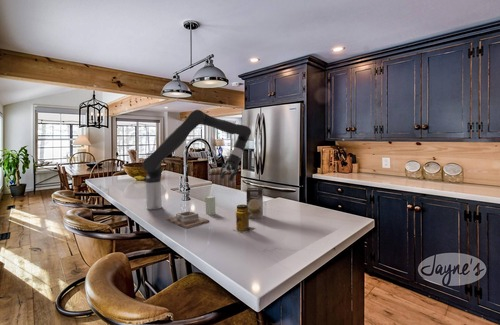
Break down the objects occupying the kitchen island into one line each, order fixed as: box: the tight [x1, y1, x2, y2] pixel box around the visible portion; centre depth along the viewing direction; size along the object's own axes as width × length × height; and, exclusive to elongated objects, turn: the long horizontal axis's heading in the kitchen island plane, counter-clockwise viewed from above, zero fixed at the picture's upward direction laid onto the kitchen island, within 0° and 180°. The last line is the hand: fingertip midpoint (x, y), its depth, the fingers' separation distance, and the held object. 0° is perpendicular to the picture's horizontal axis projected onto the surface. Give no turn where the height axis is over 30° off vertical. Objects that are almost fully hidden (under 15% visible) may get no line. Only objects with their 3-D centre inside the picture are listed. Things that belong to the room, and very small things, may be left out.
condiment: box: [233, 204, 255, 234], centre depth 127 cm, size 7×8×12 cm
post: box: [205, 195, 216, 216], centre depth 155 cm, size 4×4×10 cm
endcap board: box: [166, 210, 210, 229], centre depth 142 cm, size 20×14×4 cm
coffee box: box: [246, 187, 264, 219], centre depth 147 cm, size 9×6×16 cm
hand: (225, 179), depth 161 cm, fingers open, 8 cm apart
